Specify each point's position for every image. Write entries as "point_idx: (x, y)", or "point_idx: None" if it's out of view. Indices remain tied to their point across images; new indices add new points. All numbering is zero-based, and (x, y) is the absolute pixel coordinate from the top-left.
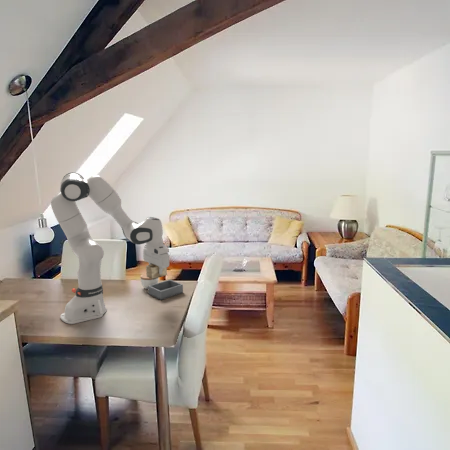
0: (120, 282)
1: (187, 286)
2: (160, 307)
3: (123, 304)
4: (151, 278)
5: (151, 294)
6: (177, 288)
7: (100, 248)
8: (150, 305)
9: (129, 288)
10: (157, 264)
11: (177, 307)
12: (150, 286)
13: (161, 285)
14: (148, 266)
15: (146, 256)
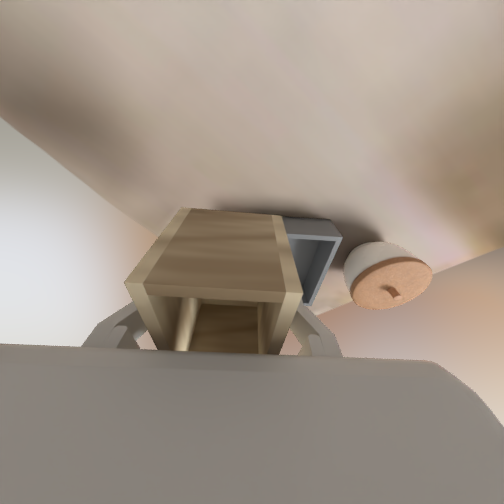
0: None
1: None
2: (192, 168)
3: (364, 49)
4: (202, 210)
5: (312, 220)
6: None
7: None
8: (239, 152)
9: (441, 209)
10: (81, 374)
11: (155, 210)
12: (329, 239)
13: (315, 273)
14: (249, 297)
15: (431, 480)
